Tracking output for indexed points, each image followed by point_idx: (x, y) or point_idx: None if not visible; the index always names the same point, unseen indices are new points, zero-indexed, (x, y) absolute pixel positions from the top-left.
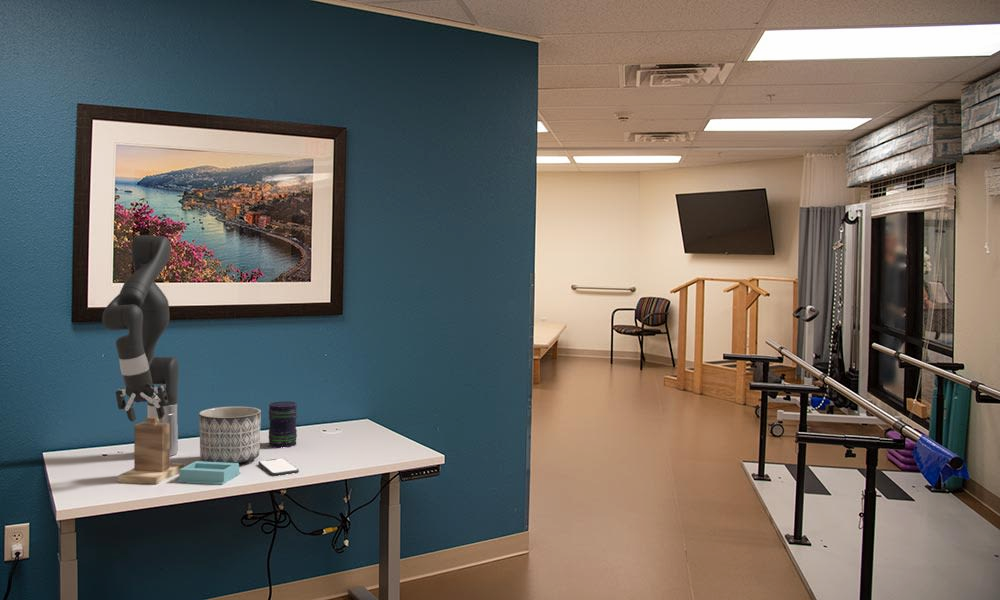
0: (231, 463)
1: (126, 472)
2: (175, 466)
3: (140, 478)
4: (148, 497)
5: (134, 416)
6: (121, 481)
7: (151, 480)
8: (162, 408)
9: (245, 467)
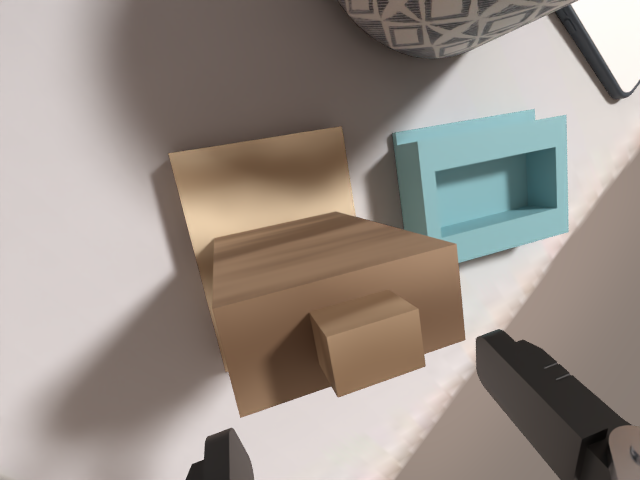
0: (546, 126)
1: None
2: (337, 176)
3: None
4: (424, 415)
5: (236, 468)
6: None
7: None
8: (591, 411)
9: None
